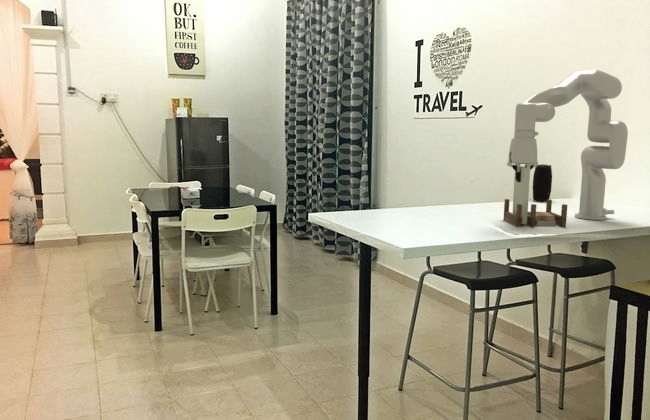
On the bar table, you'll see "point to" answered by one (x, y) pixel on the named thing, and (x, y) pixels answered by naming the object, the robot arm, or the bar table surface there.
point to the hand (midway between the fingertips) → (521, 181)
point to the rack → (533, 214)
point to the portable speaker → (542, 183)
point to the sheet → (522, 193)
